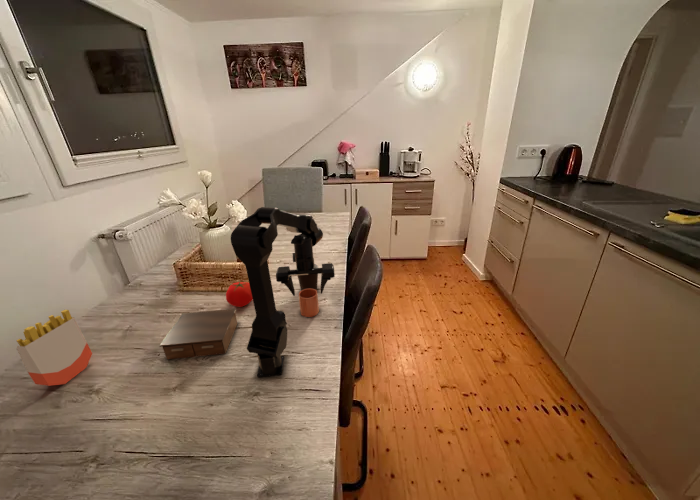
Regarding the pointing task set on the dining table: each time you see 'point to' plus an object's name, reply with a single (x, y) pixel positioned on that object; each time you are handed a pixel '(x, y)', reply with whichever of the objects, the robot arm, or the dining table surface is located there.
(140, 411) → the dining table surface
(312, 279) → the coffee mug
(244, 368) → the dining table surface
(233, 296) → the tomato
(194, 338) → the low cabinet
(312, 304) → the cup
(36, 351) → the french fries container
